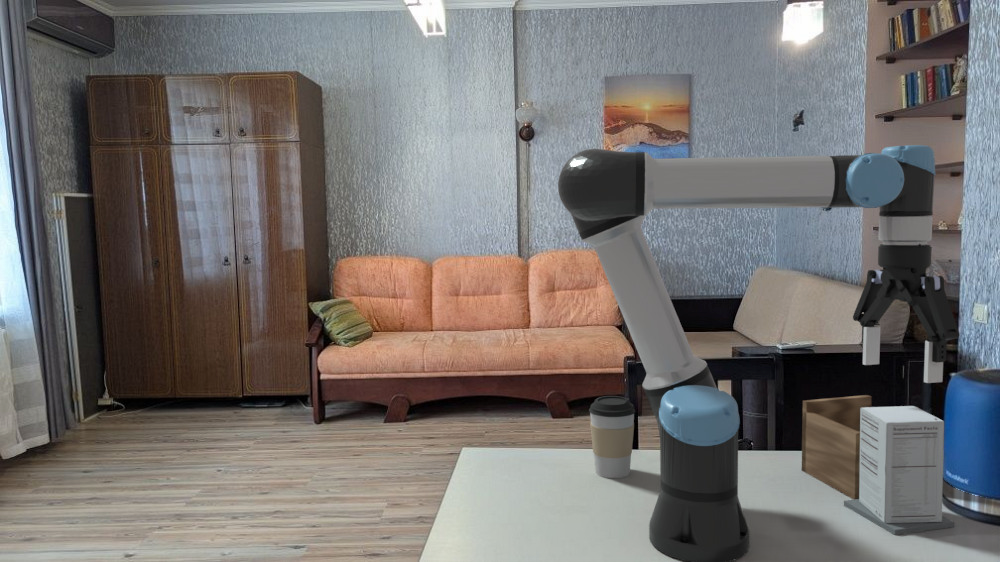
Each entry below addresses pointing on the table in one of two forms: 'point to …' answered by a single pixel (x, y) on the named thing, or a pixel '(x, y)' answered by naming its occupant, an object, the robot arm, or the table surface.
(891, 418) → the supplement box
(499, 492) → the table surface
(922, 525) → the rubber mat
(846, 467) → the walnut bay
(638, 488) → the table surface
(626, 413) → the coffee cup
